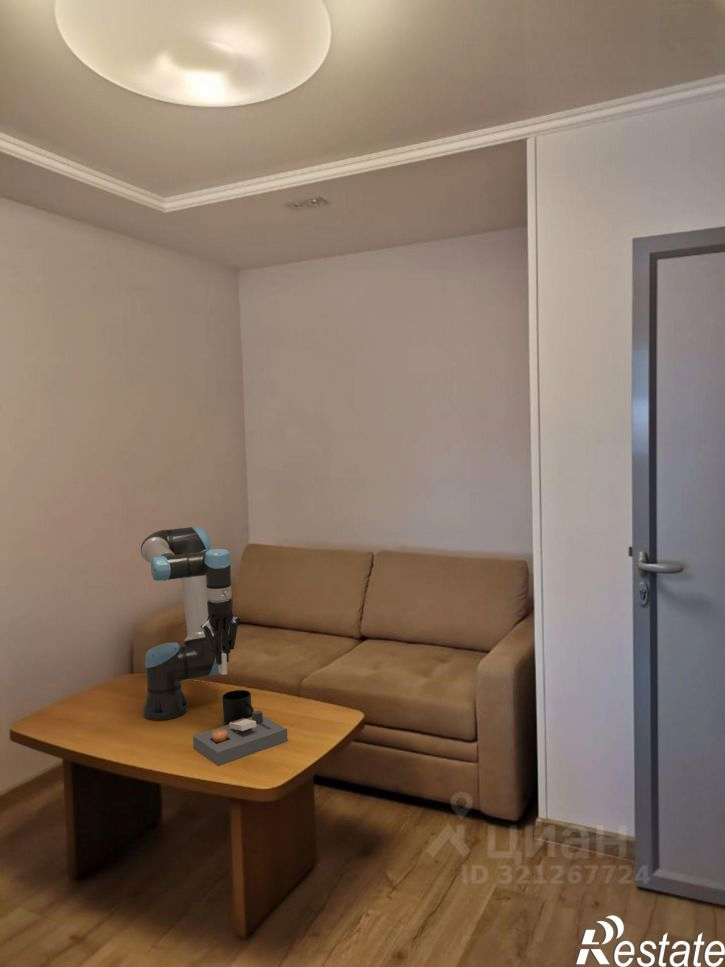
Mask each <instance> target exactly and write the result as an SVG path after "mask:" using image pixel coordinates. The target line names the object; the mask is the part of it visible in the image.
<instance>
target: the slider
mask: <svg viewBox="0 0 725 967" xmlns="http://www.w3.org/2000/svg"><path fill="white" fill-rule="evenodd" d="M263 716H264V715H263V711H261V710H255V711H254V712H252V720H253V721H256V723H260V722H263Z"/></svg>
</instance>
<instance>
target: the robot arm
mask: <svg viewBox="0 0 725 967" xmlns="http://www.w3.org/2000/svg"><path fill="white" fill-rule="evenodd" d="M140 553H141V556H142V558H143V559H144V561H146V562H147V563H149V564H150V569H151V570H150V572H151V576H152V579H153V580H154V581H156V582H159V581H160V582H161V581H163V582H165V581H170V580H177V579H180V583H181V589H182V590H181V591H182V598H183V599H182V600H183V608H184V609H183V610H184V616H185V624H186V634H187V635H186V637H185V639H184V640H183V646H180V644H179V643H178V642H166V643H165V642H164V643H161V644H158V645H156V646H153V647H151V648H150V649H148V651H146V653H145V664H144V666H145V670H146V671H145V673H146V689H147V693H146V697H145V700H144V704H143V708H142V713H143V714H142V715H143V717H144V718H145V719H147V720H151V721H167V720H171V719H176V718H180V717H181V716H183V715H185V714H186V713H187V712H188V711H189V703H188V700H187V698H186V696H185V692H184V690H183V686H182V681H186V680H187V681H188V680H193V679H199V678H203V677H204V678H205V677H207V678H208V677H210V676H215V675H218V674H220V675H223V676H225V675H228V663H229V661H230V654H231V650H234V649H235V645H236V638H237V632H238V626H239V624H240V622H241V618H240V617H237V616H234V613H233V599H232V594H233V592H232V577H231V573H232V572H231V561H232V560H231V556H230V551H229V550H228V549H223V548H213V549H211V542H210V539H209V535H208V533H207V531H206V530H205V529H204V528H203V527H201V526H197V527H196V526H190V527H189V526H188V527H182V528H180V527H179V528H173V529H171V528H170V529H161V530H158V531H155V532H153V533H151V534H149V535H148V536H146V538H144V539H143V541H142V542H141V545H140Z"/></svg>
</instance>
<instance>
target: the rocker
mask: <svg viewBox="0 0 725 967" xmlns="http://www.w3.org/2000/svg"><path fill="white" fill-rule="evenodd" d="M229 725H230V728H232V729H236V730H240V731H244V730H247V729H250V728H253V727H256V721H253V720H248V719H240V720H237V721H233V722H230V723H229Z"/></svg>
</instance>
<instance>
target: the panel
mask: <svg viewBox="0 0 725 967" xmlns="http://www.w3.org/2000/svg"><path fill="white" fill-rule="evenodd" d="M248 720H252V717H251V718H248ZM218 729H225V730H227V740H226V741H224V742H221V743H218V744H216V743H215V742H213V738H212V732H213V731H215V730H218ZM192 741H193V749H194V750H195V751H197V752H198V753H200V754H201V755H203V757H205V758H206V759H208V760H209V761H210V762H212V763H214V764H215V765H216V766H218V767H219V766H222V765H225V764H228V763H230V762H234V761H236V760H239V759H242V758H244V757H248V756H251V755H253V754H255V753H259V752H262V751H266V750H268V749H270V748H273V747H276V746H278V745H281V744H285V743H287V742H288V729H287V727H284V726H283V725H280V724H279V723H276V721H273V720H272V719H270V718H267V717H265V716H264V715H263V722H260V723H256V727H253V728H250V729H247V730H244V731H240V730H236V729H232V728H230V725H226V724H225V725H223V726H219V727H216V728H213V729H210V730H207V731H204V732H201V733H197V734H195V735H192Z"/></svg>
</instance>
